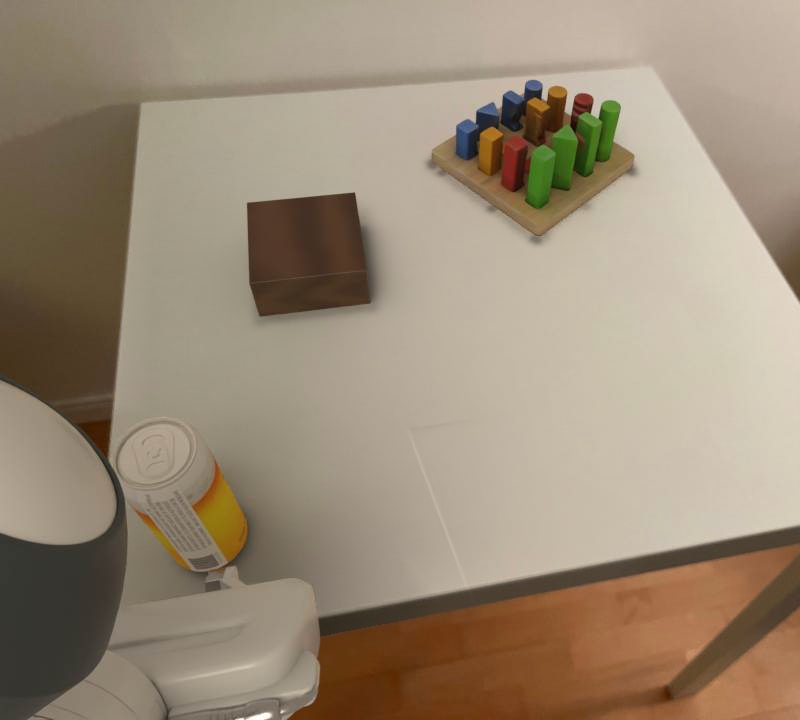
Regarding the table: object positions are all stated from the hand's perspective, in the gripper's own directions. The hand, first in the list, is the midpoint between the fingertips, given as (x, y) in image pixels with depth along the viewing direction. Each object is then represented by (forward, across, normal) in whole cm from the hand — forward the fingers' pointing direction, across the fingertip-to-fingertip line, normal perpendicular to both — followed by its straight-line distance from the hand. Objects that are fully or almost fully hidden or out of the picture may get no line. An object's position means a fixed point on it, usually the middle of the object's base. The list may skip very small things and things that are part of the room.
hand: (138, 594), depth 41 cm
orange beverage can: (+19, 0, +5) cm, 19 cm away
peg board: (+48, -37, -24) cm, 65 cm away
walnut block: (+38, -10, -15) cm, 42 cm away
